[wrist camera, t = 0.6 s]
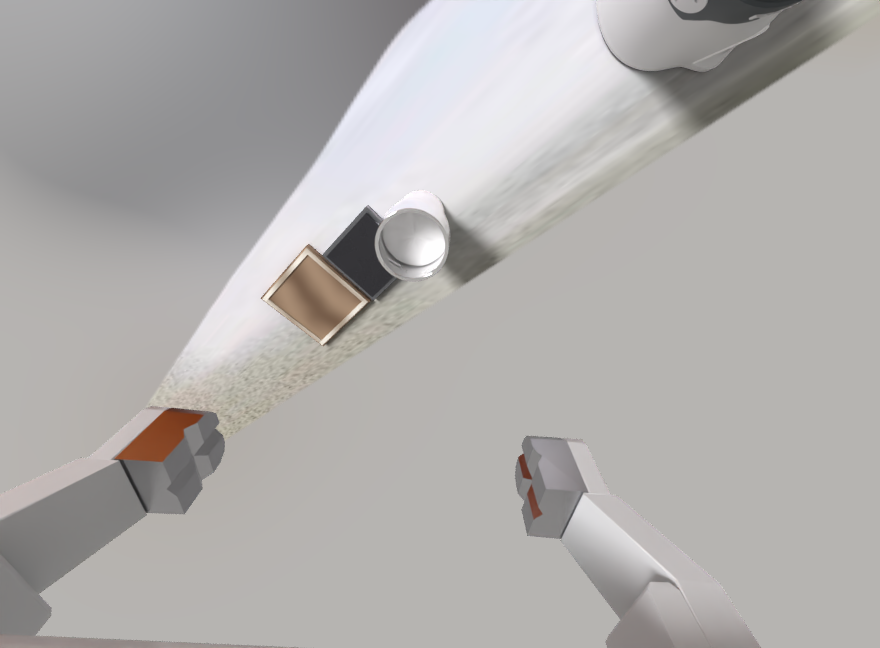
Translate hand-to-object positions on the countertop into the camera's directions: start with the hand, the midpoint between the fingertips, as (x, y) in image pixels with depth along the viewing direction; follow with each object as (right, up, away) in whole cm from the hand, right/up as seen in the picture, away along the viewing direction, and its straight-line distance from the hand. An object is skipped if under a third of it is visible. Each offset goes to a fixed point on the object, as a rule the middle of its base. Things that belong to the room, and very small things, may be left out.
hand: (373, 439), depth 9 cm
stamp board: (-16, +7, +39) cm, 43 cm away
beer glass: (-1, +17, +34) cm, 38 cm away
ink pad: (-8, +12, +36) cm, 39 cm away
